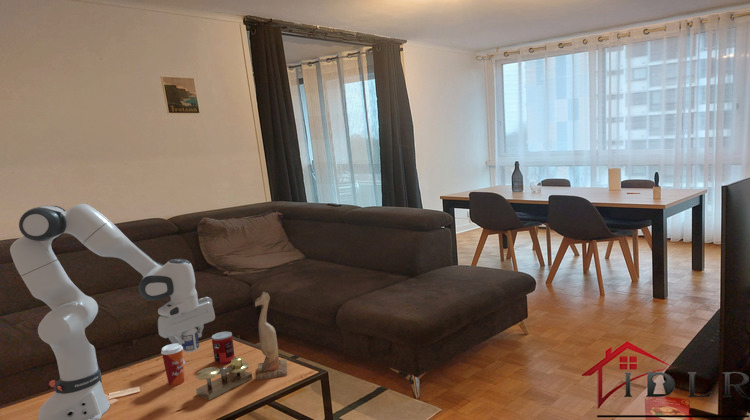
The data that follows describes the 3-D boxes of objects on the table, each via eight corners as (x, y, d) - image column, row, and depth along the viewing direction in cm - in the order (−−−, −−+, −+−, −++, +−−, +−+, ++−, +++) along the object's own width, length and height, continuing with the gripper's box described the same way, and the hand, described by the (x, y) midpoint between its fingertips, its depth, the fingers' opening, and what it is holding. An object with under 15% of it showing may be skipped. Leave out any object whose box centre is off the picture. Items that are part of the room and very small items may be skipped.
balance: (206, 401, 167) (203, 379, 166) (194, 395, 172) (191, 374, 171) (254, 377, 182) (252, 357, 181) (241, 372, 187) (239, 352, 186)
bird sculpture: (256, 369, 190) (244, 290, 185) (287, 362, 193) (275, 285, 188) (257, 382, 179) (244, 299, 174) (289, 374, 182) (277, 293, 177)
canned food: (214, 358, 202) (211, 333, 200) (234, 354, 204) (231, 329, 203) (214, 366, 195) (211, 340, 193) (235, 362, 197) (232, 336, 196)
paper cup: (179, 387, 179) (174, 351, 177) (161, 386, 181) (155, 351, 179) (191, 377, 187) (186, 342, 185) (173, 376, 188) (168, 342, 186)
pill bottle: (193, 345, 179) (189, 320, 177) (202, 348, 176) (199, 322, 174) (180, 351, 174) (176, 325, 173) (189, 354, 171) (186, 327, 170)
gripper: (206, 294, 183) (211, 329, 184) (153, 311, 167) (159, 349, 169) (215, 296, 179) (220, 332, 180) (162, 314, 163) (168, 353, 165)
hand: (190, 340), depth 174 cm, fingers closed on pill bottle, 5 cm apart
